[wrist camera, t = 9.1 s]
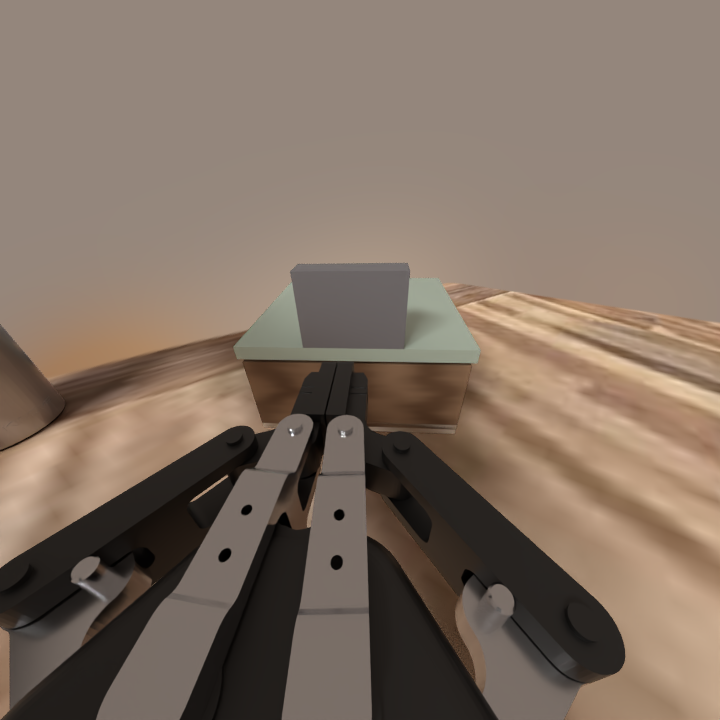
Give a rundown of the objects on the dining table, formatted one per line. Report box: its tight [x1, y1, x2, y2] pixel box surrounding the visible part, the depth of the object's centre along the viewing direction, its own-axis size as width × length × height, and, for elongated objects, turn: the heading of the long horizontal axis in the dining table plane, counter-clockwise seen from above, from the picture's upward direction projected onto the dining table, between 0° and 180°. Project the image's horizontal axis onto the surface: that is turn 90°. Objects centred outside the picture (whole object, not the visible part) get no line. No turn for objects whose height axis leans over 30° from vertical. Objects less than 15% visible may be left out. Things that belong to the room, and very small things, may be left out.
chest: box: [243, 359, 472, 434], centre depth 32 cm, size 19×18×8 cm
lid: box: [233, 263, 481, 363], centre depth 27 cm, size 20×18×7 cm
